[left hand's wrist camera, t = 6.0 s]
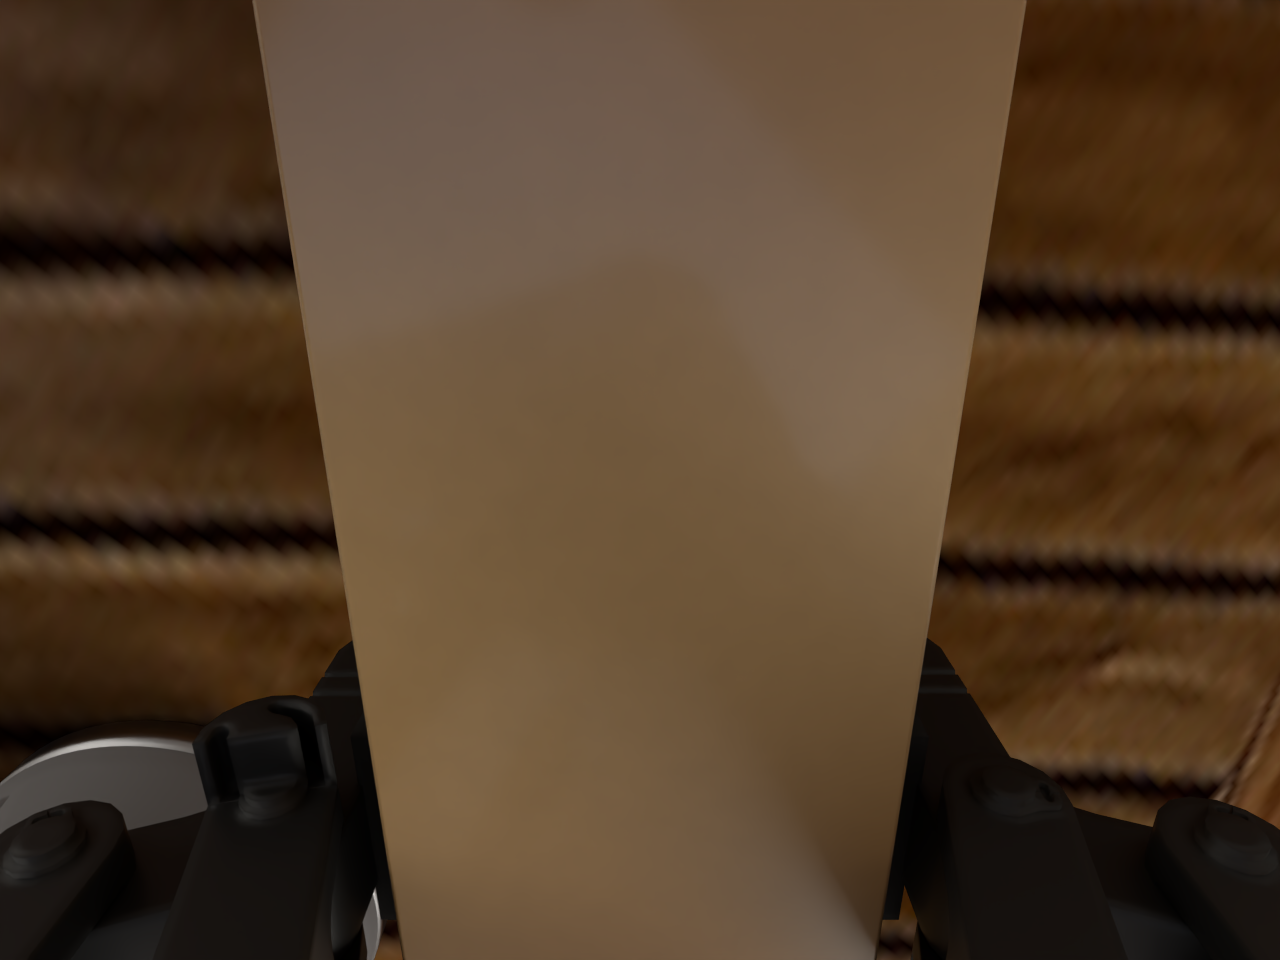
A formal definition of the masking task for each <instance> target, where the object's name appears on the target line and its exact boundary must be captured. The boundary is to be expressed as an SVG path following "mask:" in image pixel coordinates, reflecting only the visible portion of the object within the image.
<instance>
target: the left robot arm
mask: <svg viewBox="0 0 1280 960" xmlns="http://www.w3.org/2000/svg"><path fill="white" fill-rule="evenodd" d="M904 885H905V888H906V890H907V893H908V896H909V898H910V901H911V904H912V906H913V909H914V912H915V915H916V917H917V920H918V922H917V927H916V933H915V938H914V944H913V949H912V955H911V960H1280V830H1279V829H1278V828H1276V827H1275V826H1274V825H1272V824H1270V823H1268V822H1266V821H1265V820H1263V819H1261V818H1259V817H1257V816H1256V815H1254V814H1252V813H1250V812H1248V811H1246V810H1244V809H1241V808H1238V807H1235V806H1232V805H1229V804H1226V803H1223V802H1220V801H1218V800H1212V799H1204V798H1196V797H1185V798H1179V799H1173V800H1169V801H1168V802H1167V803H1166V804H1165V805H1163V806H1162V807H1161V808H1160V809H1159V810H1158V812H1157V815H1156V818H1155V822H1154V825H1153V827H1150V826H1146V825H1141V824H1137V823H1133V822H1128V821H1124V820H1120V819H1115V818H1111V817H1107V816H1102V815H1098V814H1095V813H1091V812H1088V811H1085V810H1081V809H1078V808H1075V807H1073V805H1072V803H1071V802H1070V800H1069V799H1068V797H1067V795H1066V794H1065V792H1064V791H1063V789H1062V787H1060V786H1059V785H1058V784H1057V783H1056V782H1055V781H1053V780H1052V779H1051V778H1050V777H1049V776H1047V775H1046V774H1045V773H1044V772H1043V771H1041V770H1039V769H1037V768H1035V767H1033V766H1031V765H1029V764H1027V763H1025V762H1023V761H1021V760H1018V759H1014V758H1011V757H1010V756H1009V755H1008V753H1007V751H1006V750H1005V748H1004V747H1003V745H1002V744H1001V742H1000V740H999V739H998V737H997V736H996V734H995V733H994V731H993V729H992V728H991V726H990V725H989V723H988V722H987V720H986V718H985V717H984V715H983V714H982V712H981V710H980V709H979V707H978V706H977V704H976V703H975V701H974V699H973V698H972V696H971V695H970V694H967V688H966V687H965V685H964V684H963V682H962V681H961V679H960V677H959V676H958V675H955V670H954V668H953V666H952V665H951V663H950V662H949V660H948V659H947V657H946V655H945V654H944V652H943V651H942V649H941V648H940V647H939V646H937V645H936V644H935V643H933V642H932V641H931V640H929V639H928V638H927V639H926V646H925V652H924V658H923V665H922V671H921V677H920V684H919V690H918V697H917V703H916V709H915V716H914V722H913V728H912V735H911V741H910V748H909V754H908V760H907V767H906V773H905V779H904V786H903V792H902V799H901V805H900V811H899V818H898V824H897V830H896V837H895V843H894V850H893V856H892V862H891V869H890V875H889V881H888V888H887V894H886V901H885V907H884V913H883V920H899V914H900V908H901V902H902V896H903V890H904ZM387 920H397V918H396V912H395V906H394V899H393V893H392V887H391V880H390V874H389V867H388V861H387V855H386V848H385V842H384V836H383V829H382V823H381V817H380V810H379V804H378V797H377V791H376V785H375V778H374V772H373V766H372V759H371V753H370V746H369V740H368V734H367V727H366V721H365V715H364V708H363V702H362V696H361V689H360V683H359V676H358V670H357V664H356V657H355V651H354V645H353V640H352V641H351V642H350V643H348V644H347V645H346V646H344V647H343V648H342V649H340V650H339V651H338V653H337V654H336V656H335V658H334V659H333V661H332V662H331V664H330V666H329V667H328V669H327V670H326V672H325V677H322V678H321V680H320V681H319V683H318V685H317V686H316V688H315V689H314V691H313V696H310V697H309V699H307V698H304V697H300V696H296V695H287V696H270V697H265V698H261V699H257V700H253V701H249V702H246V703H244V704H241V705H239V706H237V707H235V708H233V709H230V710H228V711H226V712H224V713H222V714H221V715H220V716H218V717H217V718H216V719H214V720H213V721H211V722H210V723H209V724H207V725H206V726H200V725H195V724H189V723H181V722H173V721H155V720H140V721H123V722H115V723H107V724H102V725H98V726H93V727H89V728H85V729H82V730H79V731H76V732H73V733H70V734H67V735H65V736H63V737H61V738H58V739H56V740H54V741H52V742H50V743H48V744H47V745H45V746H43V747H42V748H40V749H38V750H37V751H36V752H34V753H33V754H32V755H30V756H29V757H28V758H26V759H25V760H24V761H23V762H22V763H21V764H20V765H19V766H18V767H17V768H16V769H15V770H13V771H12V772H11V773H10V774H9V775H8V776H7V777H6V778H5V779H4V780H3V781H2V782H1V783H0V960H374V958H375V955H376V952H377V949H378V946H379V943H380V940H381V937H382V934H383V931H384V928H385V925H386V922H387Z"/></svg>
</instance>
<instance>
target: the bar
mask: <svg viewBox="0 0 1280 960" xmlns="http://www.w3.org/2000/svg"><path fill="white" fill-rule="evenodd" d="M1026 1H1027V0H252V2H253V8H254V14H255V21H256V27H257V34H258V40H259V46H260V53H261V59H262V65H263V72H264V78H265V84H266V91H267V97H268V104H269V110H270V116H271V123H272V129H273V135H274V142H275V148H276V154H277V161H278V167H279V174H280V180H281V186H282V193H283V199H284V205H285V212H286V218H287V224H288V231H289V237H290V244H291V250H292V256H293V263H294V269H295V275H296V282H297V288H298V295H299V301H300V307H301V314H302V320H303V326H304V333H305V339H306V345H307V352H308V358H309V365H310V371H311V377H312V384H313V390H314V396H315V403H316V409H317V415H318V422H319V428H320V435H321V441H322V447H323V454H324V460H325V466H326V473H327V479H328V485H329V492H330V498H331V505H332V511H333V517H334V524H335V530H336V536H337V543H338V549H339V556H340V562H341V568H342V575H343V581H344V587H345V594H346V600H347V606H348V613H349V619H350V626H351V632H352V638H353V645H354V651H355V657H356V664H357V670H358V676H359V683H360V689H361V696H362V702H363V708H364V715H365V721H366V727H367V734H368V740H369V746H370V753H371V759H372V766H373V772H374V778H375V785H376V791H377V797H378V804H379V810H380V817H381V823H382V829H383V836H384V842H385V848H386V855H387V861H388V867H389V874H390V880H391V887H392V893H393V899H394V906H395V912H396V918H397V925H398V931H399V937H400V944H401V950H402V957H403V960H876V958H877V952H878V945H879V939H880V933H881V926H882V920H883V913H884V907H885V901H886V894H887V888H888V881H889V875H890V869H891V862H892V856H893V850H894V843H895V837H896V830H897V824H898V818H899V811H900V805H901V799H902V792H903V786H904V779H905V773H906V767H907V760H908V754H909V748H910V741H911V735H912V728H913V722H914V716H915V709H916V703H917V697H918V690H919V684H920V677H921V671H922V665H923V658H924V652H925V646H926V639H927V633H928V626H929V620H930V614H931V607H932V601H933V594H934V588H935V582H936V575H937V569H938V563H939V556H940V550H941V543H942V537H943V531H944V524H945V518H946V512H947V505H948V499H949V492H950V486H951V480H952V473H953V467H954V461H955V454H956V448H957V441H958V435H959V429H960V422H961V416H962V410H963V403H964V397H965V390H966V384H967V378H968V371H969V365H970V359H971V352H972V346H973V339H974V333H975V327H976V320H977V314H978V307H979V301H980V295H981V288H982V282H983V276H984V269H985V263H986V256H987V250H988V244H989V237H990V231H991V225H992V218H993V212H994V205H995V199H996V193H997V186H998V180H999V174H1000V167H1001V161H1002V154H1003V148H1004V142H1005V135H1006V129H1007V123H1008V116H1009V110H1010V103H1011V97H1012V91H1013V84H1014V78H1015V72H1016V65H1017V59H1018V52H1019V46H1020V40H1021V33H1022V27H1023V21H1024V14H1025V8H1026Z"/></svg>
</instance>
